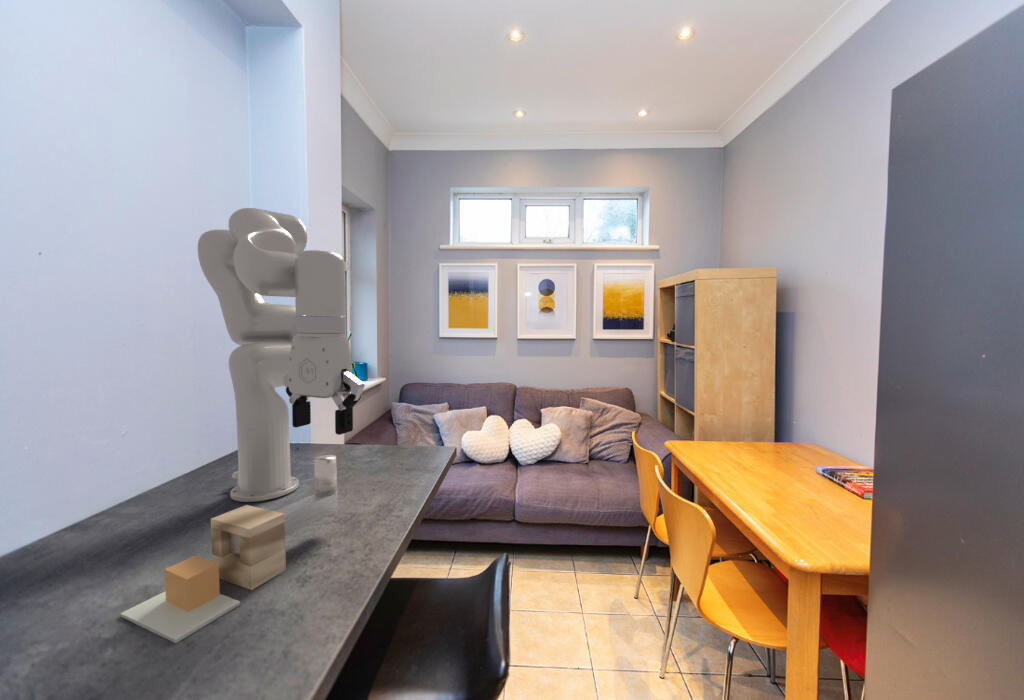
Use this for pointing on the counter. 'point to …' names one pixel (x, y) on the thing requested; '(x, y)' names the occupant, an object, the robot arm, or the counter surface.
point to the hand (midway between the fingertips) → (322, 429)
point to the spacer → (192, 583)
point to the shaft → (309, 500)
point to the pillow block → (249, 545)
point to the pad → (177, 616)
